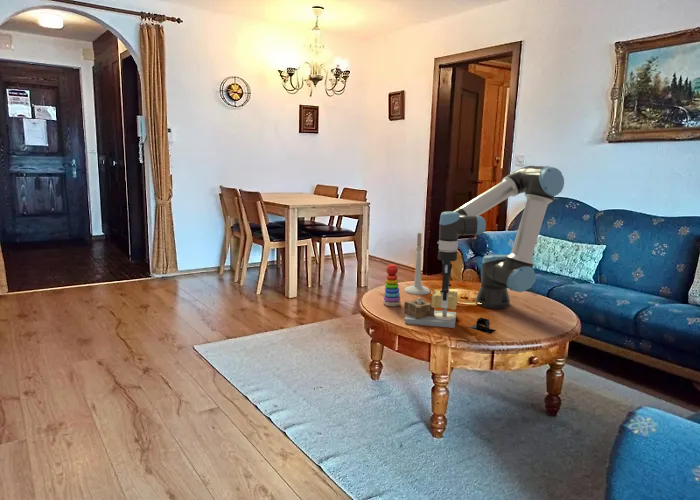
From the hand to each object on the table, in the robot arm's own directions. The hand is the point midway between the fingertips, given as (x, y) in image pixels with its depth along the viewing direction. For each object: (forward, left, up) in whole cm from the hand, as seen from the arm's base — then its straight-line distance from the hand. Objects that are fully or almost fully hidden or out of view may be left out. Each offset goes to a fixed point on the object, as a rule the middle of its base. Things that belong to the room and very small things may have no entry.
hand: (444, 304), depth 206 cm
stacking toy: (+24, -17, -7) cm, 31 cm away
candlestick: (+15, -42, -7) cm, 45 cm away
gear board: (+5, 0, -7) cm, 9 cm away
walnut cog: (+10, 0, -5) cm, 12 cm away
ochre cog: (0, 0, 0) cm, 0 cm away
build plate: (-16, +5, -8) cm, 18 cm away
